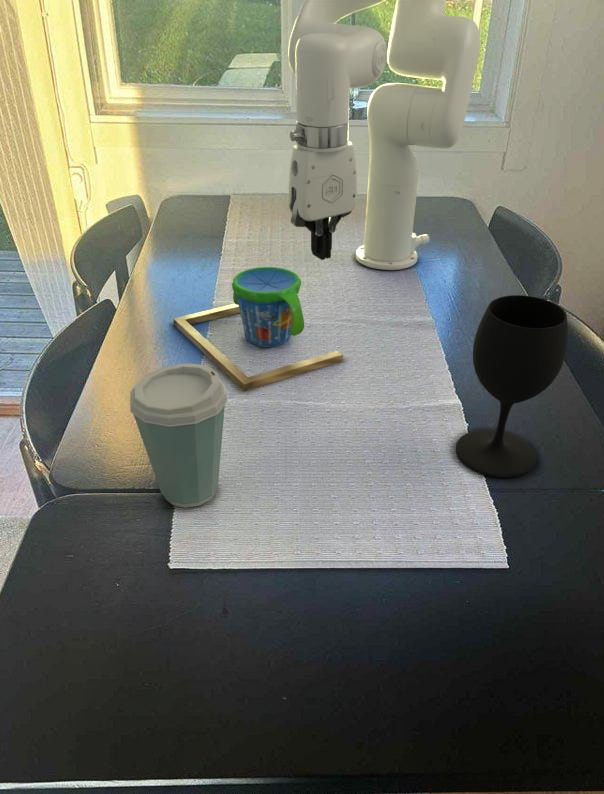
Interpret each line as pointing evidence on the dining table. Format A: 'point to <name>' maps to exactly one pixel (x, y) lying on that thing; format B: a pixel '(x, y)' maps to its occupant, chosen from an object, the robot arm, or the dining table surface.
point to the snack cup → (268, 304)
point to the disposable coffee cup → (182, 429)
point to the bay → (229, 368)
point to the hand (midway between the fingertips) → (321, 255)
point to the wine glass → (513, 376)
